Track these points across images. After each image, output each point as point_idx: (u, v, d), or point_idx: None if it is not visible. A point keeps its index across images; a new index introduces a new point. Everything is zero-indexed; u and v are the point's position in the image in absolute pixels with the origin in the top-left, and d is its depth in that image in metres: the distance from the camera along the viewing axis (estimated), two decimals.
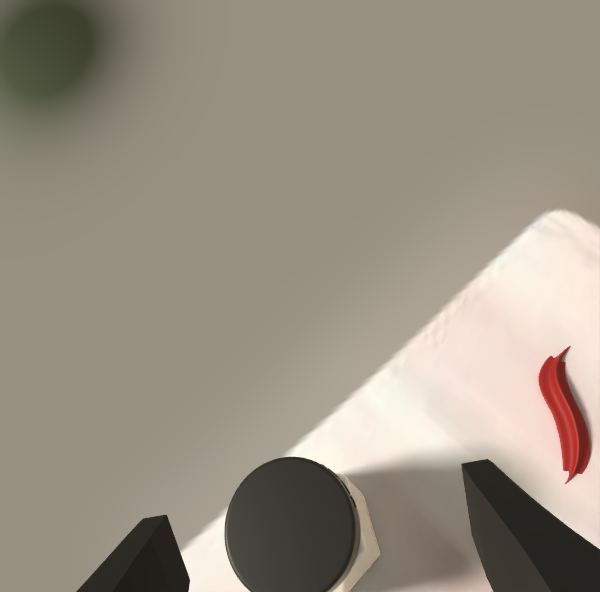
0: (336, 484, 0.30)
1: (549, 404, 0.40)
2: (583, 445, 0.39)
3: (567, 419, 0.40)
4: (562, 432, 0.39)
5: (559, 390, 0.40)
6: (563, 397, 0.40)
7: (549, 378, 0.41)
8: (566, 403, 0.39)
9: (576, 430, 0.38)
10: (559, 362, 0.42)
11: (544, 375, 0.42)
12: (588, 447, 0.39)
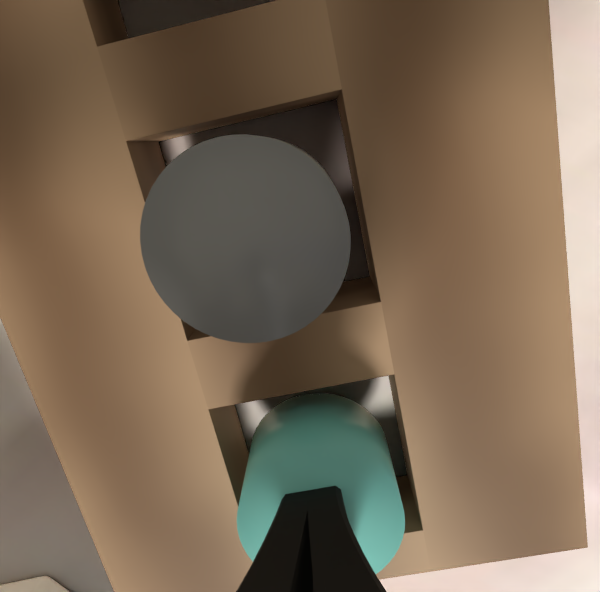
0: None
1: None
2: None
3: None
4: None
5: None
6: None
7: None
8: None
9: None
10: None
11: None
12: None
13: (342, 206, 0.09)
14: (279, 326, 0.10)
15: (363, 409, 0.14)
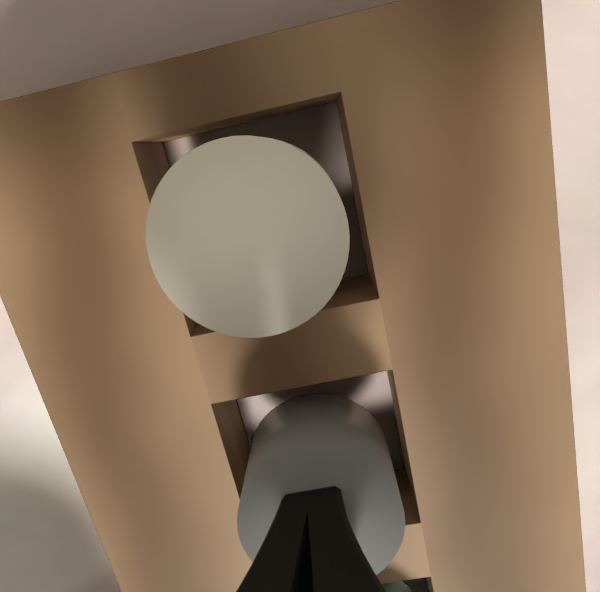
0: None
1: None
2: None
3: None
4: None
5: None
6: None
7: None
8: None
9: None
10: None
11: None
12: None
13: (399, 502, 0.12)
14: None
15: (399, 581, 0.17)
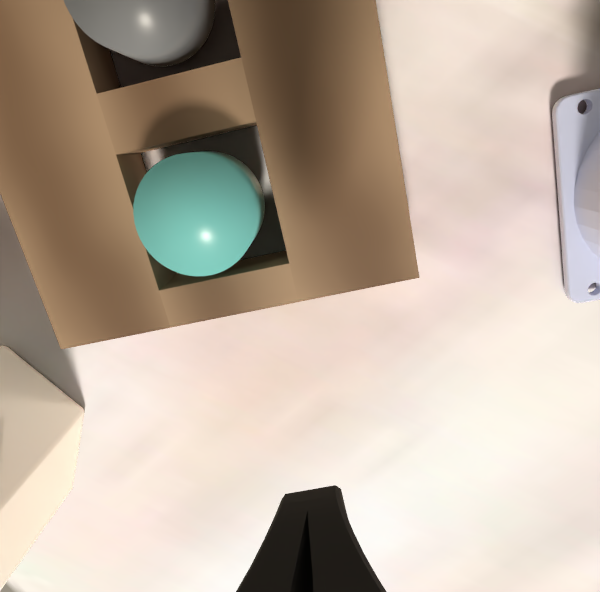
0: None
1: None
2: None
3: None
4: None
5: None
6: None
7: None
8: None
9: None
10: None
11: None
12: None
13: None
14: (153, 39, 0.15)
15: (242, 163, 0.18)
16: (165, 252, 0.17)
